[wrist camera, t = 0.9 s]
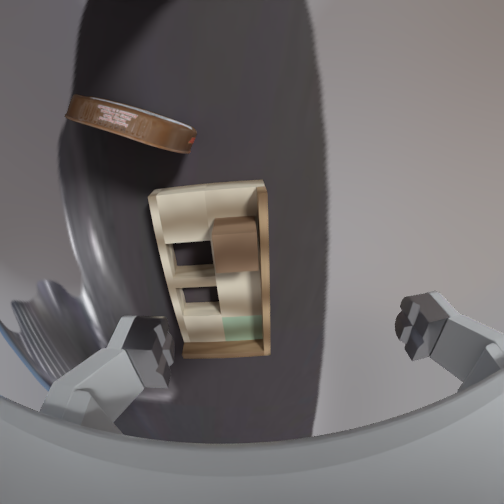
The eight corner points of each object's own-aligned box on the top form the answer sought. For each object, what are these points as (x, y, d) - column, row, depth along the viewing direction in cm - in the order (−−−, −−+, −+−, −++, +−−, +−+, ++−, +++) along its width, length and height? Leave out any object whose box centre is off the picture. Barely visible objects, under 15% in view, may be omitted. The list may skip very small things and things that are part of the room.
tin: (87, 115, 26) (48, 121, 18) (95, 91, 24) (57, 90, 17) (194, 150, 29) (180, 164, 22) (205, 125, 28) (193, 130, 21)
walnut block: (214, 218, 30) (211, 235, 26) (254, 215, 30) (256, 232, 26) (218, 252, 32) (216, 273, 28) (255, 250, 32) (258, 270, 29)
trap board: (155, 189, 31) (140, 204, 26) (262, 179, 31) (267, 192, 26) (187, 333, 43) (183, 358, 38) (266, 329, 43) (270, 354, 38)
